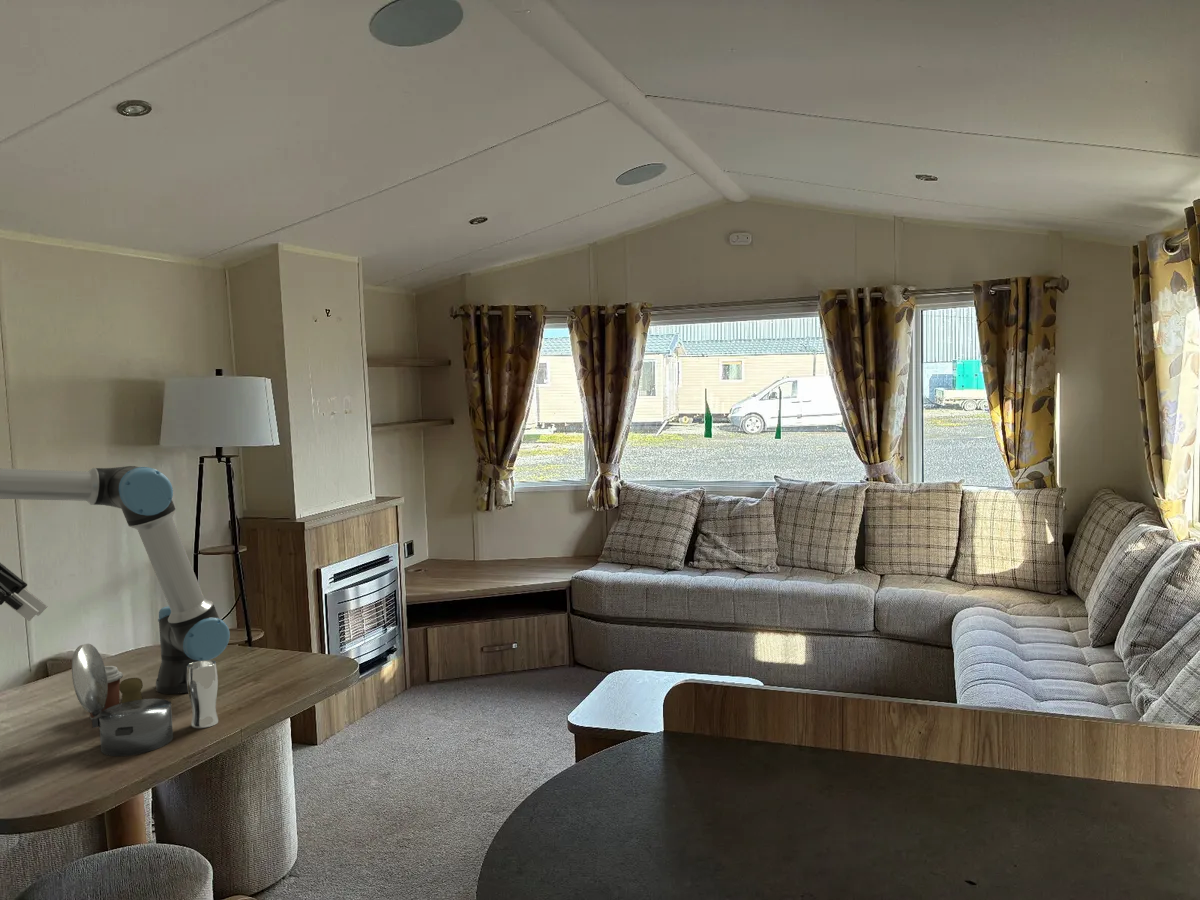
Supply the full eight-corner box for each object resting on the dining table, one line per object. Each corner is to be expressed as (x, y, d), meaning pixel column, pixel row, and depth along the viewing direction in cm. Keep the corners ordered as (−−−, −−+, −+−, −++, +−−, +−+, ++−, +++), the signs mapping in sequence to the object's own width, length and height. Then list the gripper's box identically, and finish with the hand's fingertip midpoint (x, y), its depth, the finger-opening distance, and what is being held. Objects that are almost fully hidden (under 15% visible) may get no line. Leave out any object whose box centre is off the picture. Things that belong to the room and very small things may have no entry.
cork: (135, 727, 221) (132, 683, 220) (114, 726, 222) (111, 682, 221) (152, 718, 227) (149, 675, 226) (131, 717, 228) (128, 674, 227)
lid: (90, 723, 201) (79, 726, 200) (113, 700, 216) (104, 703, 216) (71, 654, 199) (60, 657, 199) (96, 636, 215) (86, 638, 214)
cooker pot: (82, 763, 199) (80, 728, 199) (112, 732, 218) (109, 699, 218) (160, 755, 202) (158, 720, 202) (182, 725, 221) (180, 693, 221)
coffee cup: (78, 717, 229) (75, 671, 228) (116, 707, 236) (113, 662, 235) (93, 725, 223) (89, 677, 222) (131, 714, 230) (128, 668, 229)
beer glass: (197, 719, 225) (194, 660, 224) (225, 718, 225) (221, 659, 224) (184, 729, 218) (180, 668, 217) (212, 728, 218) (208, 668, 217)
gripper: (-42, 552, 209) (42, 617, 213) (-82, 565, 192) (9, 635, 196) (-18, 528, 209) (65, 593, 213) (-57, 539, 192) (34, 610, 197)
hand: (38, 613), depth 205 cm, fingers open, 4 cm apart
